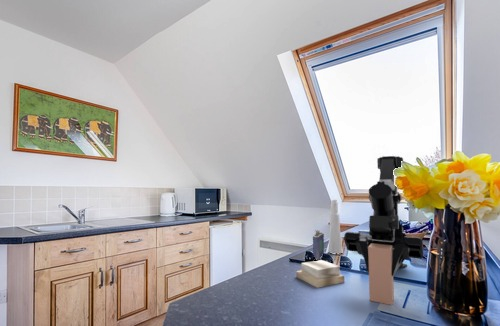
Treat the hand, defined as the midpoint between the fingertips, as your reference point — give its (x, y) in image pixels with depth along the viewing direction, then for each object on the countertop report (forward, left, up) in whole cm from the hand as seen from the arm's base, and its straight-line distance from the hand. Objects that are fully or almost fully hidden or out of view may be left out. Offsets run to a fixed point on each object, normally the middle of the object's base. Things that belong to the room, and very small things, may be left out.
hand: (380, 273), depth 71 cm
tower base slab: (+1, -20, -7) cm, 21 cm away
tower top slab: (0, -20, -5) cm, 20 cm away
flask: (-17, -38, -7) cm, 42 cm away
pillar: (-1, -1, -7) cm, 7 cm away
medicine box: (-43, -34, -7) cm, 55 cm away
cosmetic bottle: (-29, -40, -7) cm, 50 cm away
